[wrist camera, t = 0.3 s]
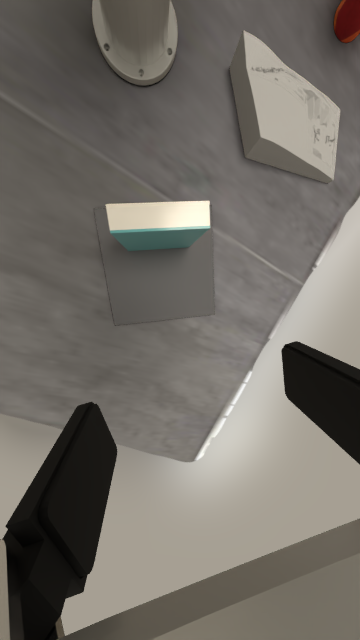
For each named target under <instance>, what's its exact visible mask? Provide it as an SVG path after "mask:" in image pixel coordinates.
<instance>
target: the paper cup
mask: <svg viewBox="0 0 360 640" xmlns="http://www.w3.org/2000/svg"><path fill="white" fill-rule="evenodd" d="M334 31H335V34H336V36H337V38H338V39H339V40H340V41H341V42H343V43H348V42H351V41H352V40H354V39H355V38H356V37H357V36H358V34H359V33H360V0H342V1H341V3H340V5H339V6H338V8H337V10H336V13H335V17H334Z"/></svg>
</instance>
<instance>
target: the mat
mask: <svg viewBox="0 0 360 640" xmlns="http://www.w3.org/2000/svg"><path fill="white" fill-rule="evenodd" d="M209 209H210V229H209V230H208V231H206V232H205V233H204V234H203V235H202V236H201V237H200V238H199V239H198V240H196V241H195V242H194V243H193V244H192V245H191V246H190V247H186V248H170V249H154V250H138V251H128V250H127V249H126V248H125V247H124V246H123V245H122V244H121V243H120V242H119V241H118V240H117V239H116V238H115V237H114V236H113V235H112V234H111V233H110V228H109V222H108V216H107V210H106V208H97V209H94V214H95V220H96V226H97V231H98V237H99V242H100V248H101V253H102V259H103V264H104V270H105V275H106V281H107V287H108V292H109V298H110V303H111V309H112V314H113V320H114V325H115V326H116V325H125V324H134V323H143V322H152V321H161V320H170V319H179V318H188V317H197V316H206V315H215V304H214V271H213V238H212V206H211V205H209Z"/></svg>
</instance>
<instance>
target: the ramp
mask: <svg viewBox="0 0 360 640" xmlns="http://www.w3.org/2000/svg"><path fill="white" fill-rule="evenodd" d="M229 69H230V75H231V81H232V86H233V92H234V98H235V103H236V108H237V115H238V120H239V126H240V131H241V137H242V143H243V148H244V154H245V158H248V159H251V160H254V161H257V162H260V163H264V164H267V165H270V166H273V167H276V168H280V169H283V170H286V171H289V172H293V173H296V174H299V175H302V176H305V177H308V178H311V179H314V180H318V181H321V182H324V183H327V184H328V183H330V182H331V181H333V180H334V171H335V161H336V149H337V138H338V128H339V127H338V126H339V118H340V109H339V107H337V106H336V105H335V103H334V102H332V101H331V100H330V99H329V98H328V97H327V96H326V95H325V94H323V93H322V92H320V91H319V90H318V89H316V88H315V87H314V86H313V85H311V84H310V83H309V82H308V81H307V80H305V79H304V78H303V77H301V76H300V75H299V74H297V73H296V72H294V71H293V70H291V69H290V68H288V67H287V66H286V65H285V64H284V63H283V62H282V61H281V60H280V59H279V58H278V57H277V56H276V55H275V54H274V53H273V52H272V51H271V50H270V48H269V47H267V46H266V45H265V44H264V43H263V42H262V41H260V40H259V39H258V38H256V37H255V36H253V35H251V34H250V33H248V32H246V31H244V30H243V32H242V35H241V37H240V40H239V43H238V46H237V48H236V51H235V54H234V57H233V59H232V62H231V65H230V68H229Z"/></svg>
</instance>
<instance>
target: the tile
mask: <svg viewBox="0 0 360 640" xmlns="http://www.w3.org/2000/svg"><path fill="white" fill-rule="evenodd" d="M106 210H107V216H108V222H109V228H110V233H111V234H112V235H113V236H114V237H115V238H116V239H117V240H118V241H119V242H120V243H121V244H122V245H123V246H124V247H125V248H126V249H127V250H128V251H138V250H154V249H170V248H186V247H190V246H191V245H192V244H193V243H194V242H195V241H196V240H198V239H199V238H200V237H201V236H202V235H203V234H204V233H205V232H206V231H208V230H209V229H210V209H209V201H187V202H155V203H123V204H106Z"/></svg>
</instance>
